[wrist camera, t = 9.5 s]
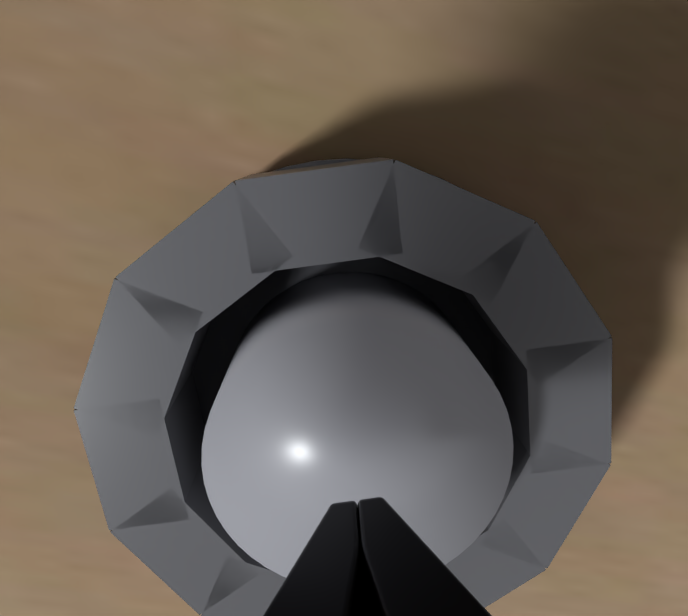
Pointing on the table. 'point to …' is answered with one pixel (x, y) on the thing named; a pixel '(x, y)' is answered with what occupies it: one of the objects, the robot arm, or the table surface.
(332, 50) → the table surface
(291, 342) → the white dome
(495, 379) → the grey crown ring
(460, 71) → the table surface
